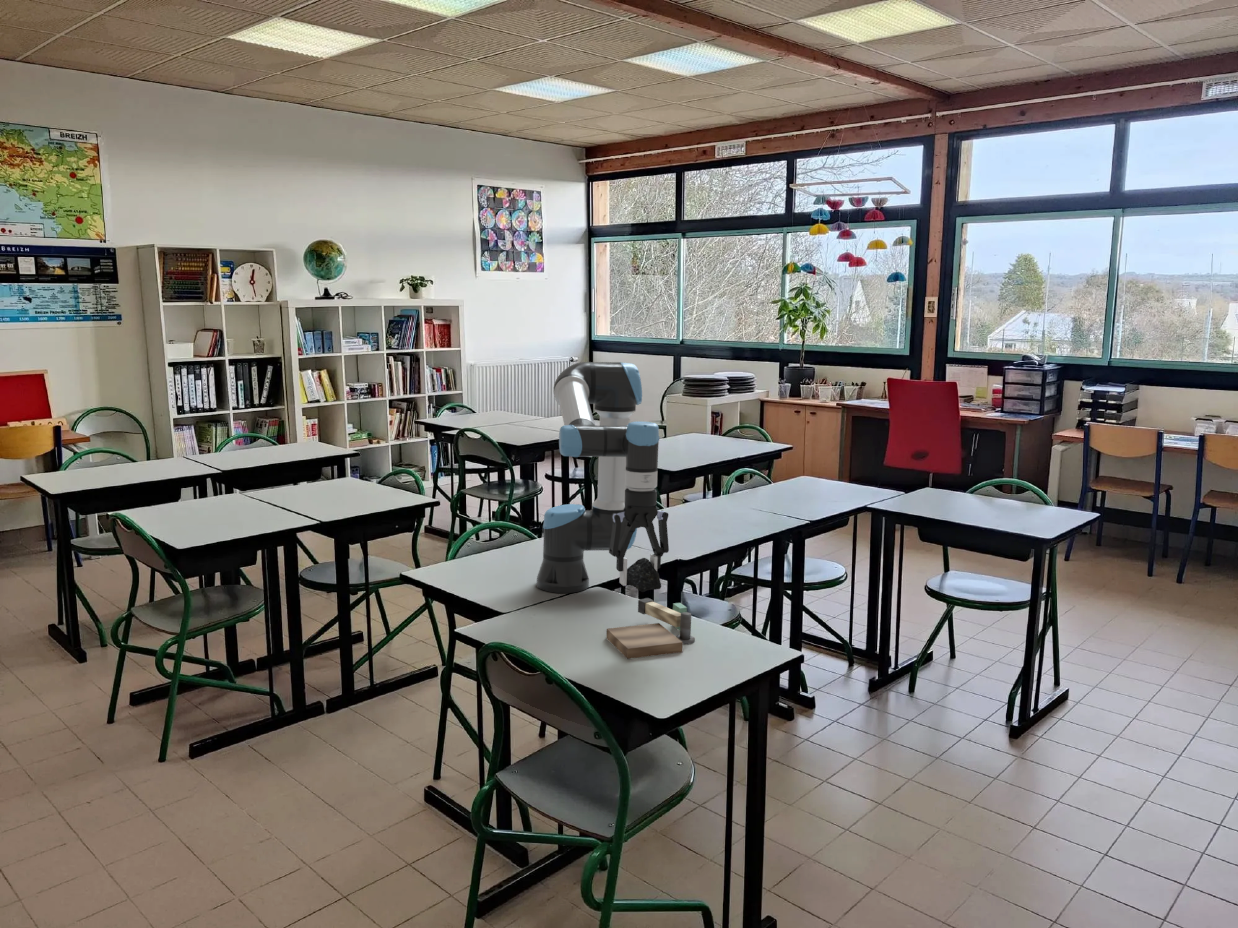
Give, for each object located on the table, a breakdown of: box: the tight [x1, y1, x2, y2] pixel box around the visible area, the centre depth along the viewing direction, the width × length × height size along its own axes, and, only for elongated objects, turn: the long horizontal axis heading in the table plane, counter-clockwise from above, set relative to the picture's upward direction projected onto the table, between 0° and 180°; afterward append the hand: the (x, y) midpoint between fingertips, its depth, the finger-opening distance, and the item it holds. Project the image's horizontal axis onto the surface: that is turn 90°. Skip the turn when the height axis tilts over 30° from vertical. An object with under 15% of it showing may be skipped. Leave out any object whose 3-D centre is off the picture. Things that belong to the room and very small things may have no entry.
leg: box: [637, 597, 681, 628], centre depth 236 cm, size 15×3×3 cm, turn 37°
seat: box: [605, 611, 696, 660], centre depth 226 cm, size 14×20×7 cm
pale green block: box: [672, 602, 688, 631], centre depth 238 cm, size 4×2×6 cm, turn 21°
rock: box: [627, 557, 662, 593], centre depth 220 cm, size 7×10×6 cm
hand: (638, 582), depth 223 cm, fingers closed on rock, 7 cm apart
